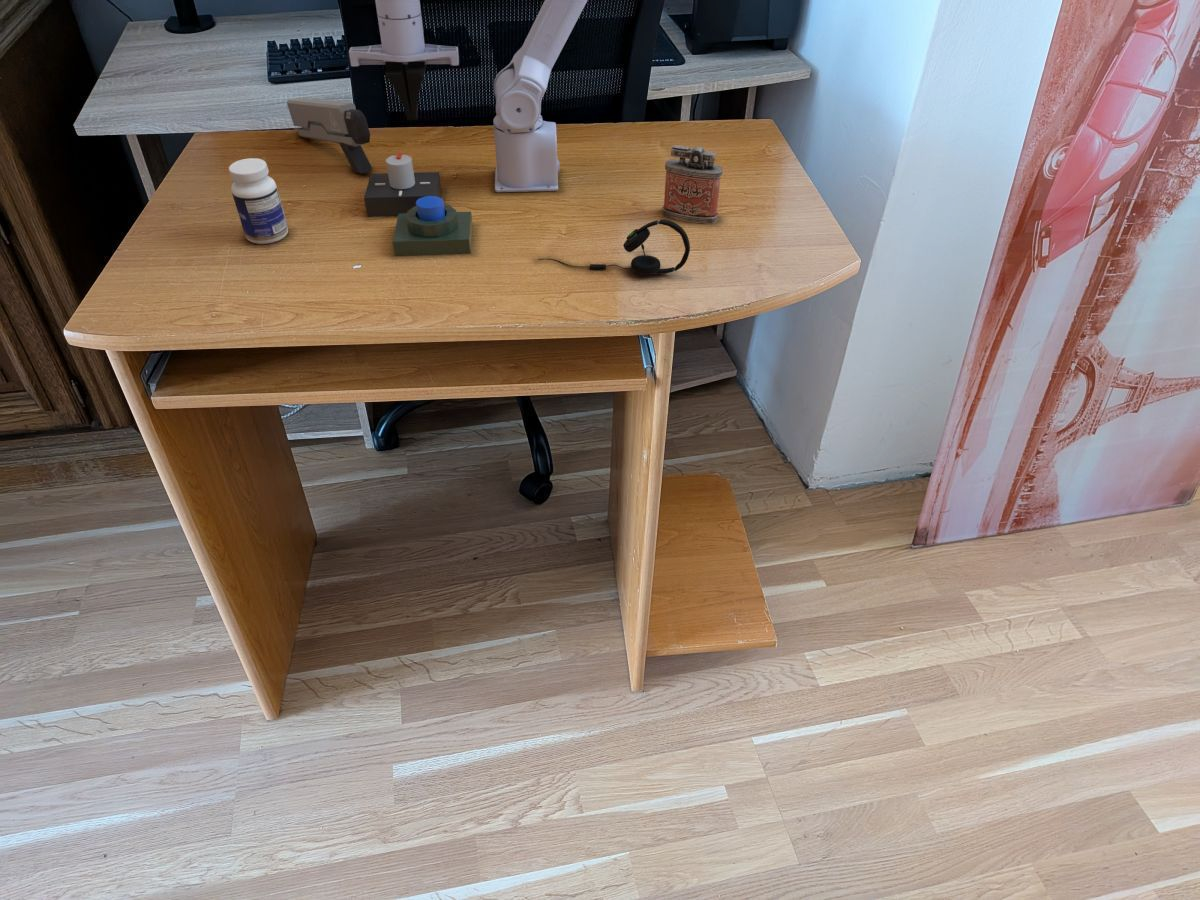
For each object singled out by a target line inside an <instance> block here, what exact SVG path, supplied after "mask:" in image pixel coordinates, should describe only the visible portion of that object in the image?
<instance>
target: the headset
mask: <svg viewBox="0 0 1200 900" xmlns="http://www.w3.org/2000/svg"><path fill="white" fill-rule="evenodd" d="M658 225H662V226H667V227H669V228H671V229H672V230H674V231H675V232H677V233H678V234H679V236H680V237H681V239H682V242H683V245H684V253H683V255H682V257H681V260H680V261H679V262H678V264H676V266H675V267H674V266H671V267H667V268H661V267H662V264H661V260H660V259H659V258H658V257H655V256H653V255H647V254H646V253H645V244H644V243H645V242H646V241H647V240H648V238H649V237H650V235H651V231H650V229H649V228H651V227H654V226H658ZM622 247H623V249H624V250H625V252H627V253H632V252H633V251H635V250H637V249H638V248H639V247H641V250H642V252H643V255H637V256H635V257H633V258H632V260H631V262H630V268H627V267H622V266H620V265H617V264H608V265H606V263H603V264H602V263H601V264H599V263H598V264H597V263H593V264H592V263H591V264H589V265H586V266H585V265H582V266H578V265H572V264H568V263H565V262H562V261H560V260H557V259H555V258H547V260H548V261H549V260H550V261H555V262H557V263H561V264H563V265H566V266H569V267H573V268H589V269H591V270H606V269H607V267H613V266H615V267H618V268H621V269H622V270H623V269H624V270H631V271H632V272H633V273H635V274H637V275H640V276H641V275H642V276H651V275H652V276H653V275H655V274H656V275H657V274H658V275H660V274H661V275H662V274H663V275H664V274H669V273H674V272H676V271H678V270H680V269H681V268H683V266H684V265H685V264H686V263H687V261H688V259H689V256H690V252H691V243H690V239H689V236H688V234H687V232H686V231H685V229H683V227H682V226H680V225H679V224H678V223H676V222H675V221H672V220H669V219H657V220H653V221H651V222H648V223H646V224H644V225H643V226H641V227H640V228H636V229H634V230H632V232H630V233H629V234H627V236H626V240H625V241H624V243H623V245H622ZM537 260H538V261H542V260H544V258H538V259H537Z"/></svg>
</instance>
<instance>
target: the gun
mask: <svg viewBox="0 0 1200 900" xmlns="http://www.w3.org/2000/svg"><path fill="white" fill-rule="evenodd" d="M286 105H287V109H288V111H289V115H290V117H291V120H292V123H293V126H294V127H297V132H298V135H299V136H300V137H302V138H305V139H311V140H317V141H322V142H327V143H333V144H338V145H339V146H340V148H341V150H342V152H343V154H344V157H345V158H346V160H347V161H348V163H349V166H350V167H351V169H352V171H353V172H354V173H356V174H361V175H365V174H367V173H371V172H373V167H372V164H371V163H370V160H369V158H368V156H367V155H366V153H365V151H364V149H363V147H362V146H363V145H365V144H369V143H370V142H371V133H370V129H369V125H368V121H367V117H366V116H365V114H364V113H363V111H362V110H360V109H356V104H354V102H348V101H339V100H338V101H337V100H330V99H329V100H328V99H318V98H307V97H295V98H291V99H288V100H287V101H286ZM298 127H299V128H298Z"/></svg>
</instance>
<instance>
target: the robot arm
mask: <svg viewBox="0 0 1200 900" xmlns="http://www.w3.org/2000/svg"><path fill="white" fill-rule="evenodd" d="M588 1H589V0H544V1H543V3H542V6H541V7H540V9H539V11H538V14H537V16H536V17H535V20H534V22H533V23H532V25H531V27H530V30H529V32H528V34H527V36H526V38H525V39H524V42H523V44H522V46H521V47H520V48H519V49H518V50H517V51H516V52H515V53H514V55H513V57H512V59H511V60H510V62H509V64H508V65H506V66H505V67H504V68H501V70H500V71H499V72H498V73H497V74H496V76H495V78H494V81H493V93H494V97H495V113H496V115H495V116H494V118H493V120H492V122H493V134H494V135H493V136H494V137H493V138H494V149H495V163H496V168H495V171H494V192H495V193H524V192H528V193H529V192H557V191H558V190H559V174H558V173H560V160H559V159H558V141H557V140H558V139H557V136H558V135H557V123H556V122H554V121H546V120H543V119H544V118H543V116H542V115H541V113H542V99H543V98H544V95H545V93H546V91H547V89H548V85H549V81H550V77H551V73H552V69H553V67H554V65H555V63H556V62H557V60H558V58H559V56H560V54H561V52H562V50H563V48H564V46H565V44H566V42H567V40H568V39H569V37H570V35H571V33H572V31H573V29H574V27H575V25H576V23H577V22H578V20H579V18H580V16H581V14H582V12H583V10H584V8H585V6H586V4H587V3H588ZM374 2H375V9H376V16H377V21H378V29H379V36H380V42H381V43H380V44H374V45H366V46H365V45H363V46H351V47H350V48H349V50H348V58H349V62H350V67H359V66H362V65H363V66H364V65H365V66H366V65H367V66H368V65H369V66H372V65H374V66H375V65H377V66H378V65H384V66H385V71H384V72H385V76H386V78H387V80H388V81H389V82H390V84H391V86H392V87H393V89H394V90H395V92H396V94H397V96H398V99H399V100H400V103H401V105H402V108H403V110H404V113H405V117H406V120H407V121H416V120H418V117H419V96H420V91H421V87H422V83H423V80H424V77H425V73H426V69H427V65H450V66H452V67H453V66H454V67H456V66H459V65H460V54H459V46H455V45H454V46H452V45H439V44H431V43H425V36H424V27H423V26H424V25H423V17H422V8H421V1H420V0H374Z"/></svg>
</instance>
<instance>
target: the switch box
mask: <svg viewBox="0 0 1200 900" xmlns="http://www.w3.org/2000/svg"><path fill="white" fill-rule="evenodd" d="M444 210H445V217H444V218H442V219H439V220H436V221H424V220H419V218H418V214H417V207H416V206H414V207H413V208H412V209H410V210H409V211H407V213H402V214H398V216H397V219H396V223H395V228H394V233H393V237H392V247H393V253H394V257H407V256H410V257H411V256H441V255H444V256H445V255H471V253H472V239H473V229H474V228H473V227H474V224H473V216H472V211H457V210H456V209H455V208H454V207H453V206H452V205H450V204H446V203H444Z"/></svg>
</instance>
